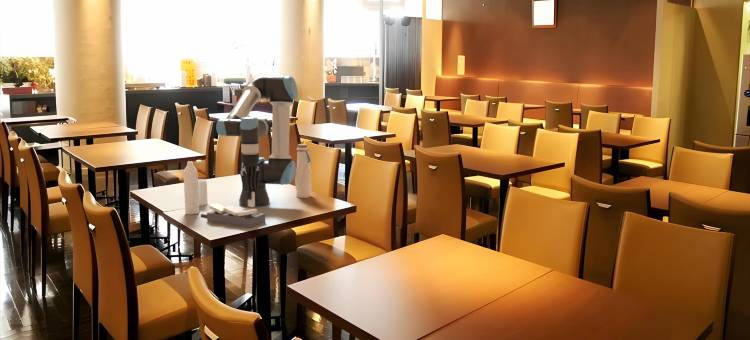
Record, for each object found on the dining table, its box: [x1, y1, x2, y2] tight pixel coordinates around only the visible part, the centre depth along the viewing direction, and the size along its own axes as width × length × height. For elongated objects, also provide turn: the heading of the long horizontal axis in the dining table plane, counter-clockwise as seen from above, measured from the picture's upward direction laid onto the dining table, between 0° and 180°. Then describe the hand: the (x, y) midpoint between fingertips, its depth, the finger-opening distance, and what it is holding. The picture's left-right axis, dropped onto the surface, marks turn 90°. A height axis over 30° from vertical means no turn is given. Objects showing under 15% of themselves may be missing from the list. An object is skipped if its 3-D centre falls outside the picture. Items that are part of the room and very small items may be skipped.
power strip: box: [200, 210, 266, 229], centre depth 278 cm, size 11×33×5 cm, turn 64°
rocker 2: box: [223, 204, 244, 216], centre depth 274 cm, size 5×7×1 cm
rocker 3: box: [237, 208, 258, 216], centre depth 271 cm, size 5×7×1 cm
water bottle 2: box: [294, 143, 313, 199], centre depth 325 cm, size 10×9×28 cm
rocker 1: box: [208, 202, 226, 214], centre depth 277 cm, size 5×7×1 cm
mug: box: [198, 178, 209, 207], centre depth 306 cm, size 8×12×12 cm
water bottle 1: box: [182, 159, 202, 215], centre depth 290 cm, size 9×6×25 cm
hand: (251, 206), depth 269 cm, fingers closed
